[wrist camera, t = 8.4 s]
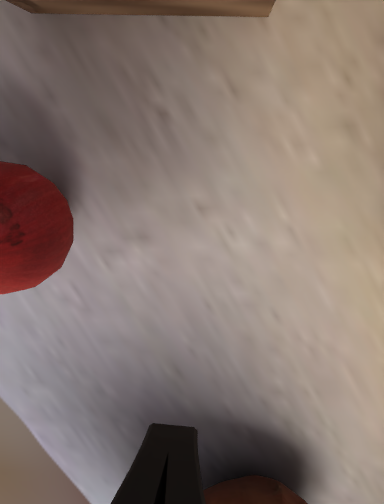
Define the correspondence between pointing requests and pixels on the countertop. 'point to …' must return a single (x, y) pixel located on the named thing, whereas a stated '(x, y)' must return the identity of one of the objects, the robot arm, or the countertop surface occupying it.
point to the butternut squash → (251, 492)
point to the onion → (31, 228)
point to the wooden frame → (150, 7)
